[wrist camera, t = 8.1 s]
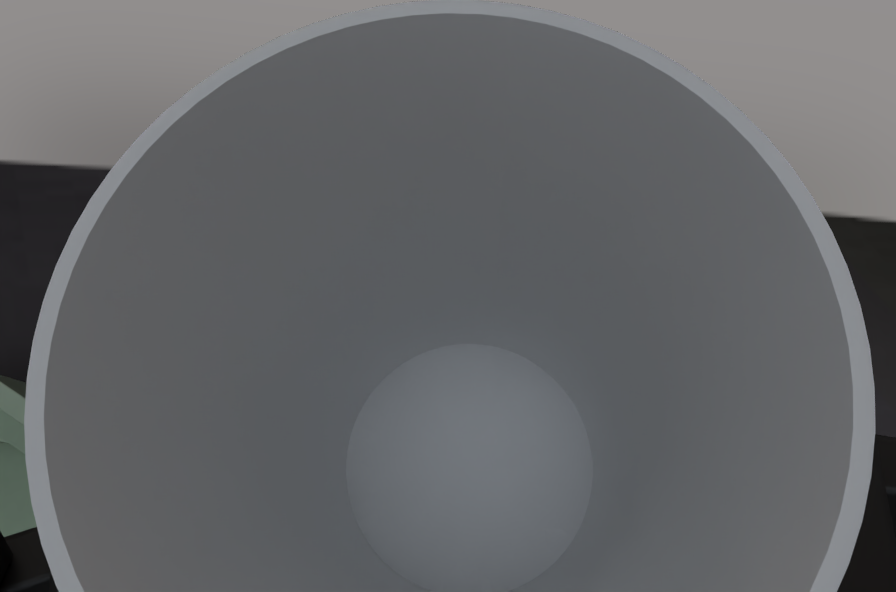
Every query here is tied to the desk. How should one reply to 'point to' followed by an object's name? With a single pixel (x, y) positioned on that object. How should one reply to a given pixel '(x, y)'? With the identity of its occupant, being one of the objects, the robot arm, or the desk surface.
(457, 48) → the cup
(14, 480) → the ceramic bowl
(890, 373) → the desk surface
